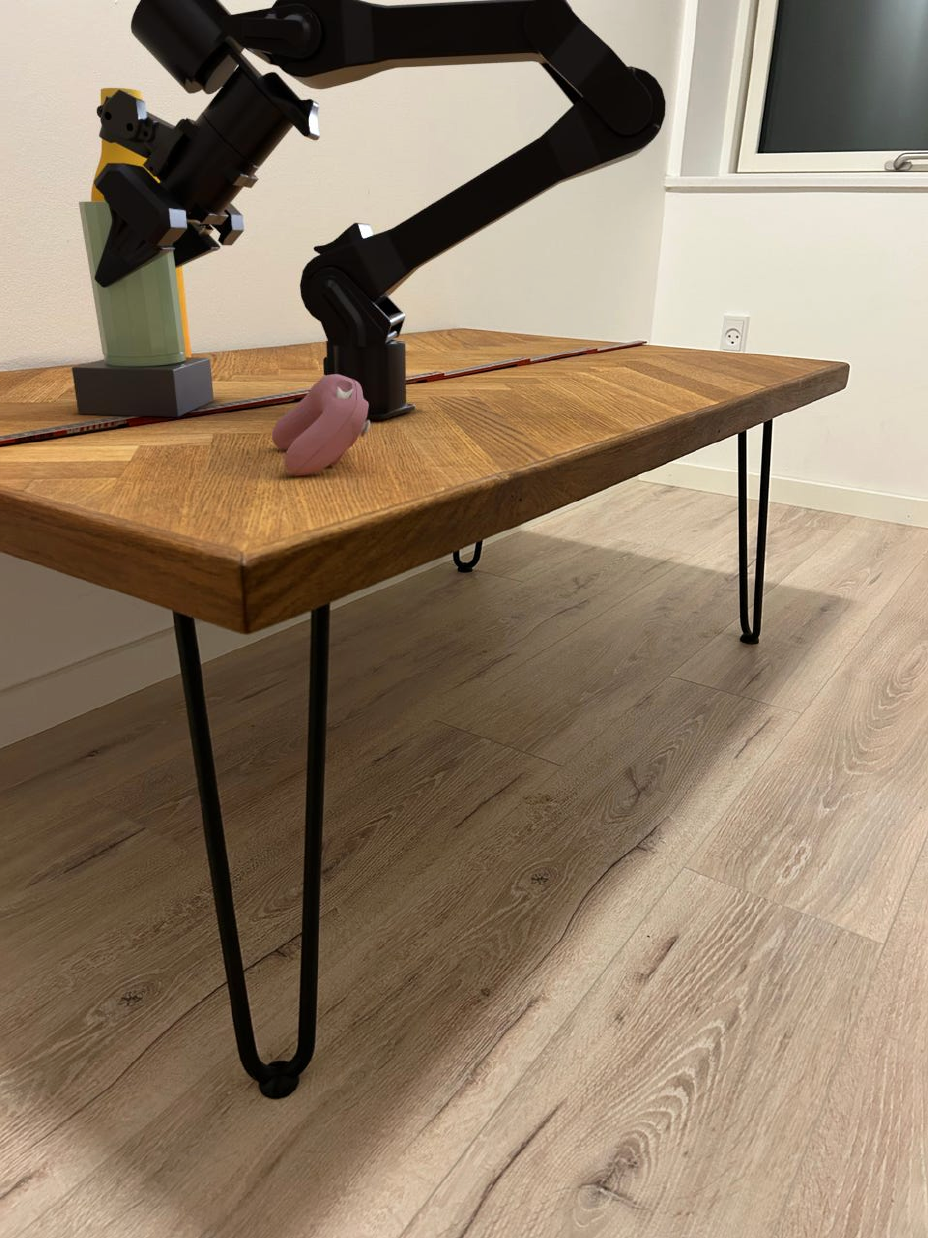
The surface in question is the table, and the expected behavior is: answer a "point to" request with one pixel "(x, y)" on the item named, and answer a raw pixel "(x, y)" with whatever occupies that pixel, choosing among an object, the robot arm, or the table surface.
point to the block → (143, 388)
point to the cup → (134, 302)
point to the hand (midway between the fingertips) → (119, 281)
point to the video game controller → (322, 425)
